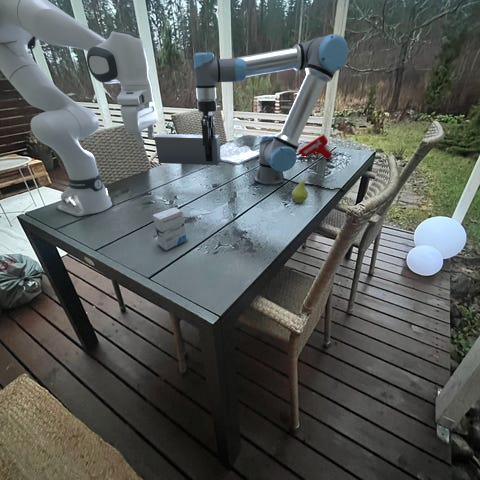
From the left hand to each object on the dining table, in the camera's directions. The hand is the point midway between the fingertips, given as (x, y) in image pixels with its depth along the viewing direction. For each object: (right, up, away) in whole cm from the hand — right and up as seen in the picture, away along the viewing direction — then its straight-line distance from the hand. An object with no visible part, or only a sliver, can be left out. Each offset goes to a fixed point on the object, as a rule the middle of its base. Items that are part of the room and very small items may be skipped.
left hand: (146, 141), depth 92 cm
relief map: (+25, +25, +94) cm, 100 cm away
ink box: (+8, -35, +2) cm, 36 cm away
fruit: (+58, -16, +30) cm, 67 cm away
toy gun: (+81, +20, +86) cm, 120 cm away
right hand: (+19, +2, +28) cm, 33 cm away
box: (+9, +2, +30) cm, 31 cm away
